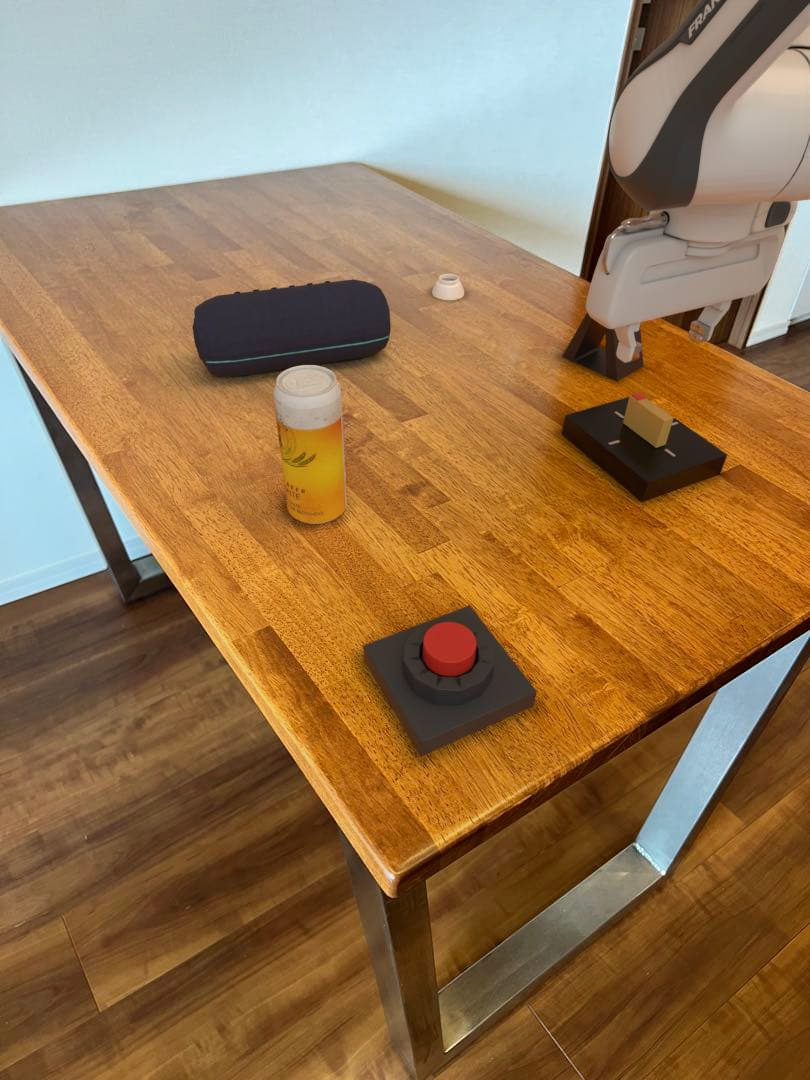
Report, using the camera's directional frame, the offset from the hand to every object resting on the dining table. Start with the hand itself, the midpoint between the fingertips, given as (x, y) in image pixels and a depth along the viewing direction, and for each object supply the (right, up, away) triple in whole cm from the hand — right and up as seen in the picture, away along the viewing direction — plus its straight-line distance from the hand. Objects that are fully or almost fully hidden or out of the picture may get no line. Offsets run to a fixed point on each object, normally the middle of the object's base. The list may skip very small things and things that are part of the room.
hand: (663, 349), depth 74 cm
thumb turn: (0, -8, +7) cm, 10 cm away
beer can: (-35, -16, +1) cm, 39 cm away
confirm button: (-23, -28, -18) cm, 40 cm away
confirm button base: (-23, -31, -15) cm, 41 cm away
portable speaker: (-41, +4, +24) cm, 47 cm away
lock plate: (0, -10, +9) cm, 13 cm away
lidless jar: (-19, +19, +41) cm, 49 cm away
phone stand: (0, +4, +25) cm, 25 cm away
